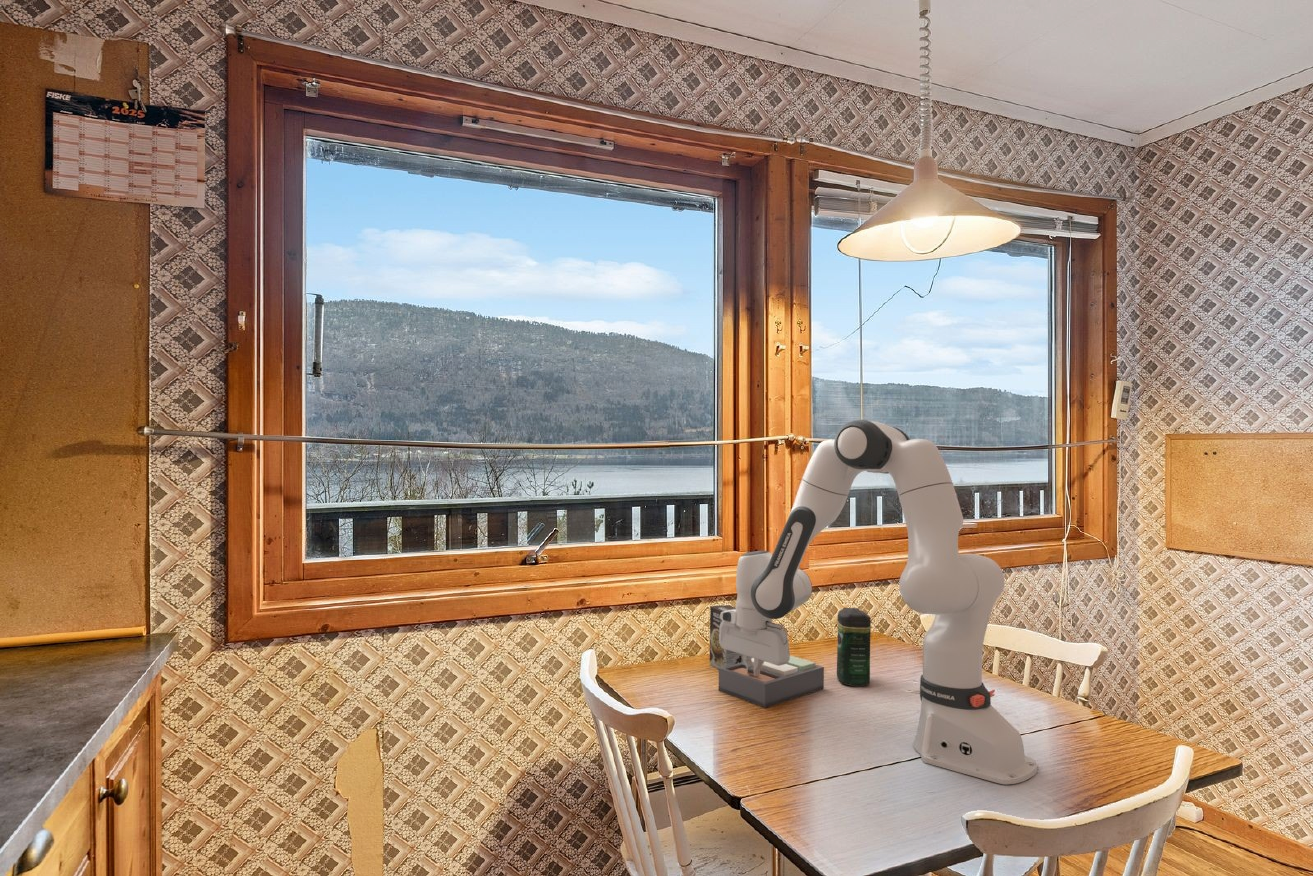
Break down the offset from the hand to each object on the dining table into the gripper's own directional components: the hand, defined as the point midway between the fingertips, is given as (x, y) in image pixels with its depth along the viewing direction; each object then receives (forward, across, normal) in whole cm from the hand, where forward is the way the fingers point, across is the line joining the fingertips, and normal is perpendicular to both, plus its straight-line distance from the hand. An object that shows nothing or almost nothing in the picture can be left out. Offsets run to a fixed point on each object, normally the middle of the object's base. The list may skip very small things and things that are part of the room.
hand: (753, 675), depth 177 cm
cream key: (+2, 0, -7) cm, 7 cm away
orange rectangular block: (+3, 0, 0) cm, 3 cm away
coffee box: (+5, +20, -11) cm, 23 cm away
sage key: (+1, 0, -14) cm, 14 cm away
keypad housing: (+5, 0, -7) cm, 8 cm away
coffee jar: (+5, -8, -29) cm, 30 cm away
